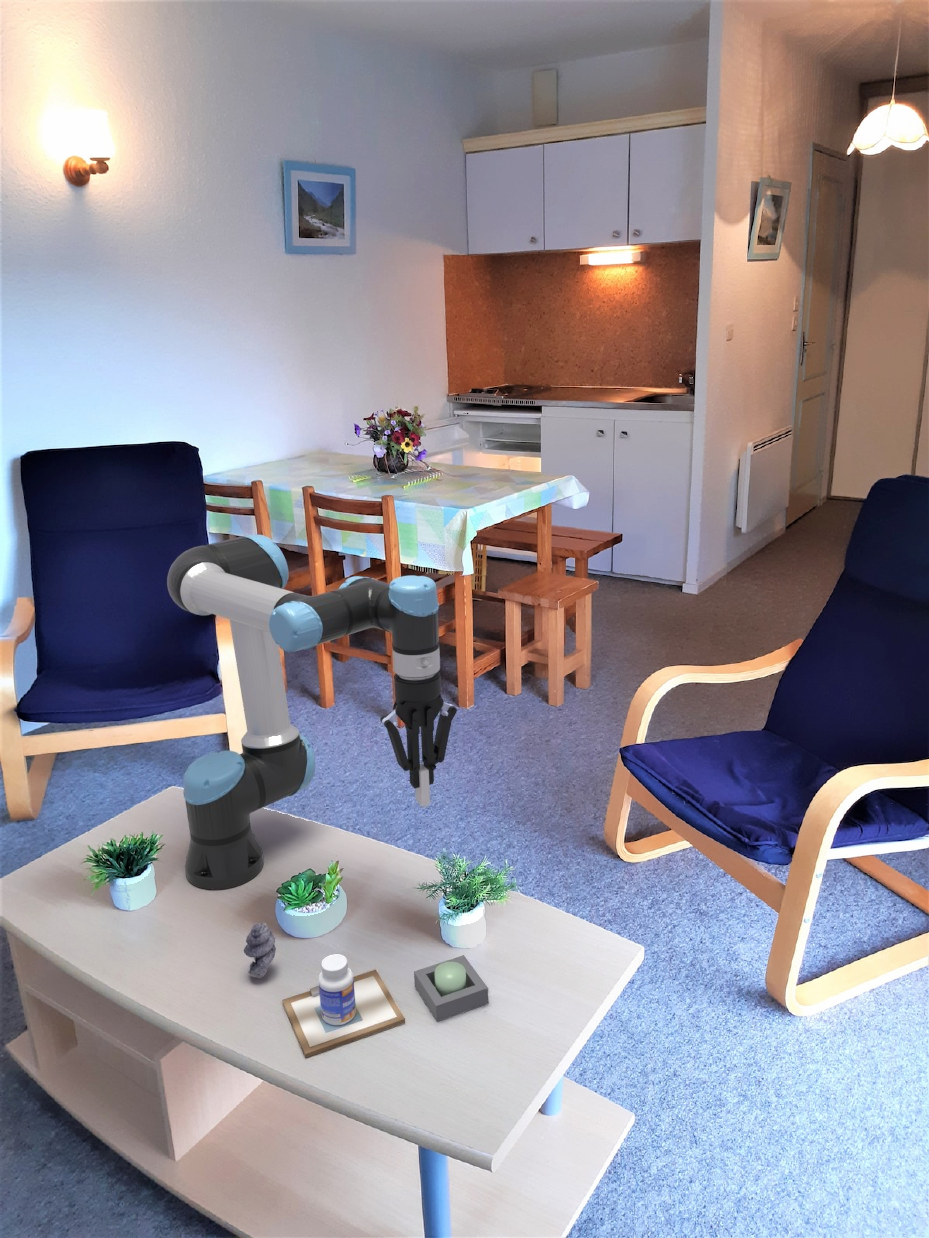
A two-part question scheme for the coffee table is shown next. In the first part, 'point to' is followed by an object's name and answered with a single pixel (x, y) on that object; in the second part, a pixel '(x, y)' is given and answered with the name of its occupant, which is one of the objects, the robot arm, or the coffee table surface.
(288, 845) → the coffee table surface
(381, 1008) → the clipboard
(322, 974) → the pill bottle
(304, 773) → the robot arm
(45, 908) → the coffee table surface
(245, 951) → the seashell
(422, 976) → the button housing
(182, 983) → the coffee table surface
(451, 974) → the button
